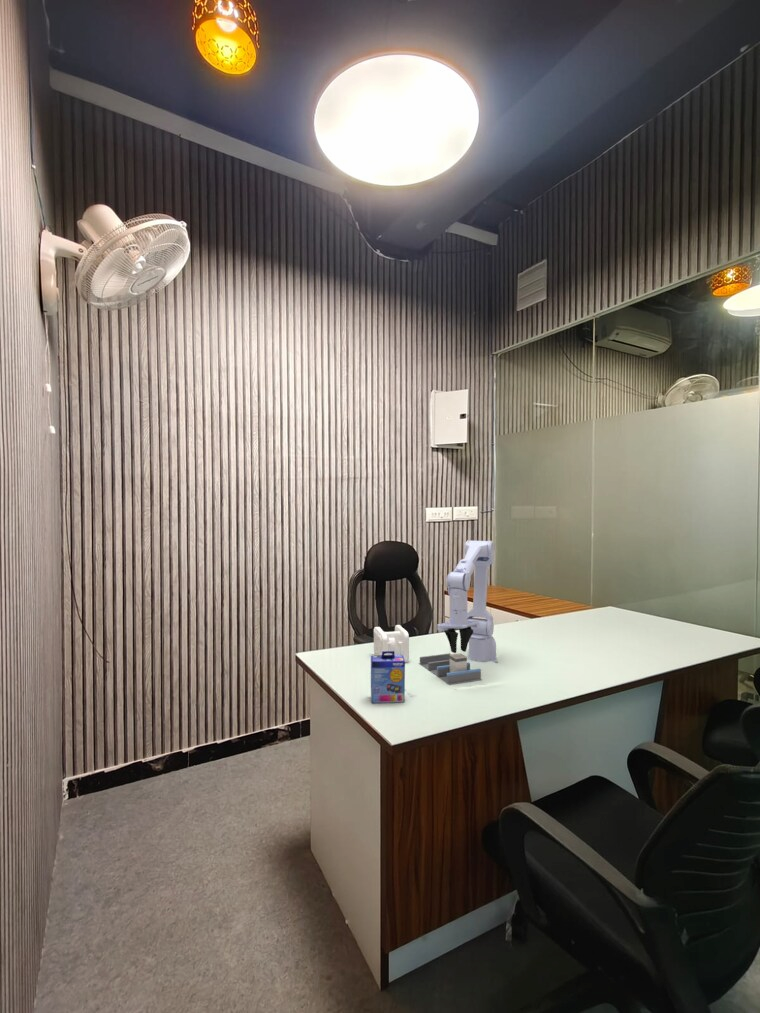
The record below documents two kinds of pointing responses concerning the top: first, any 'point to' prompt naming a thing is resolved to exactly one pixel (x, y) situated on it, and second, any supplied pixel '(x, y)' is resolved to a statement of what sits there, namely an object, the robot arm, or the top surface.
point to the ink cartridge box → (387, 678)
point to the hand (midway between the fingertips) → (458, 651)
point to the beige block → (458, 662)
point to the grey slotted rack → (442, 670)
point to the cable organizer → (392, 642)
